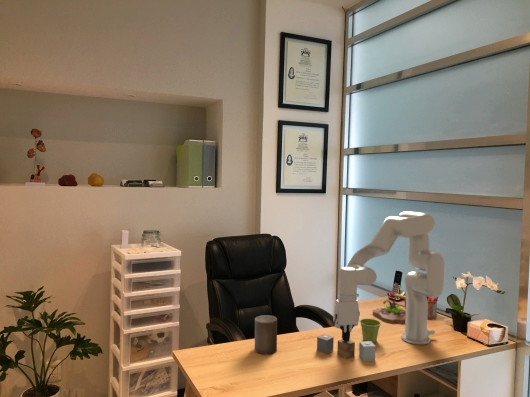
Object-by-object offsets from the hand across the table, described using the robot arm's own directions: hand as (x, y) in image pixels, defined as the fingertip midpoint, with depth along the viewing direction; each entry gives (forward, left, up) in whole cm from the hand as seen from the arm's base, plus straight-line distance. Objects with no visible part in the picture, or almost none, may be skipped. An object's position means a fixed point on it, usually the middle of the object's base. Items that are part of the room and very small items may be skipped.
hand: (345, 340), depth 174 cm
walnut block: (0, 0, -7) cm, 7 cm away
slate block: (-7, +5, -7) cm, 11 cm away
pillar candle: (+30, -16, -7) cm, 34 cm away
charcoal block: (+6, -7, -7) cm, 11 cm away
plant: (-51, -33, -7) cm, 61 cm away
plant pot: (-19, -10, -7) cm, 23 cm away
